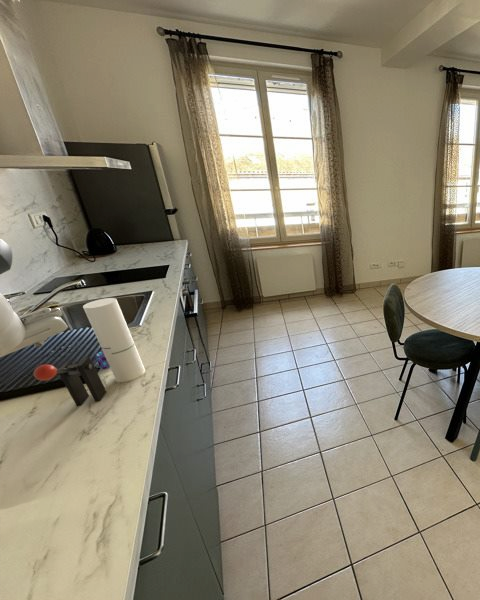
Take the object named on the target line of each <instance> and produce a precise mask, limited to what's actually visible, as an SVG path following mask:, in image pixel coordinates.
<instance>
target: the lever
mask: <svg viewBox="0 0 480 600" xmlns="http://www.w3.org/2000/svg"><path fill="white" fill-rule="evenodd" d="M78 364H79V363H75V364H74V363H73V365H69V366H67V367H68V368H60V367H59V368H60V369H59V368H56V367H55V365H52V364H47V363H46V364H41V365H39V366H38V367H36V368H35V369H34V371H33V376H34V378H35V379H36V380H39V381H42V382H43V381H49V380H51V379H53V378H54V377H56V375H57V374H59V373H65V372H68V374H69V375H73V374H78V375H79V374H81V373H80V371H79V370H78V368H77V365H78Z"/></svg>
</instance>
